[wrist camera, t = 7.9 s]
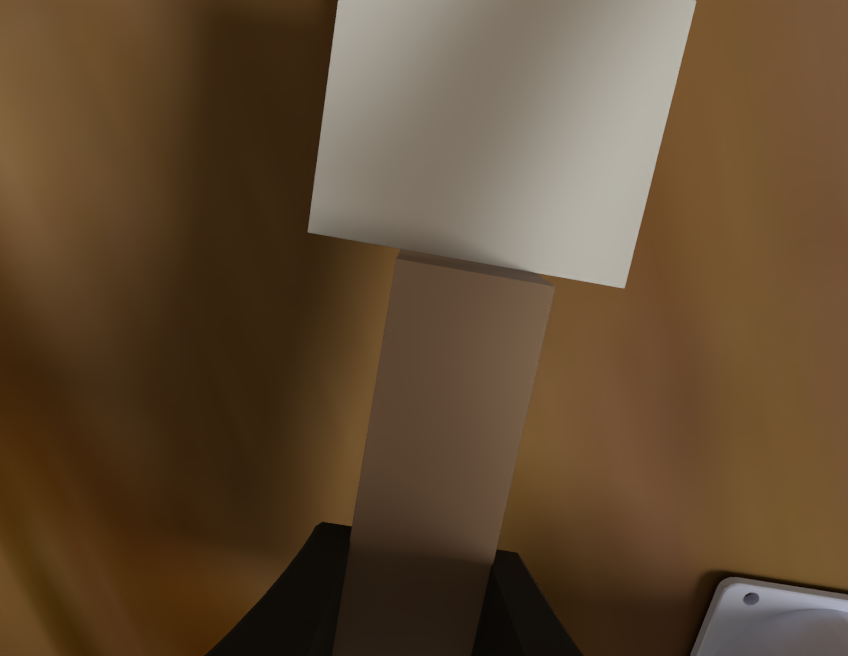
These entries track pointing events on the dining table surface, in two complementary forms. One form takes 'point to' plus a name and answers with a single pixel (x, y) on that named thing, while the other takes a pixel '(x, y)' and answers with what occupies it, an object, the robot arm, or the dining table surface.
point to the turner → (474, 259)
